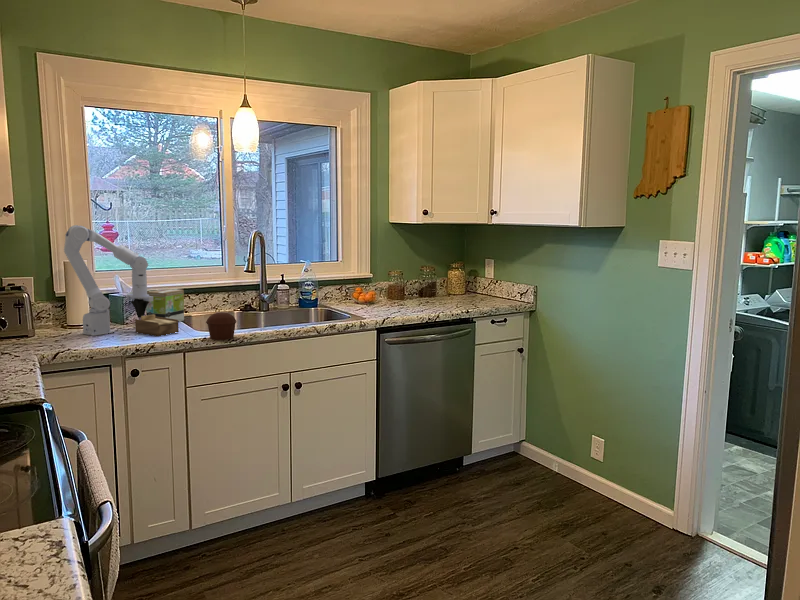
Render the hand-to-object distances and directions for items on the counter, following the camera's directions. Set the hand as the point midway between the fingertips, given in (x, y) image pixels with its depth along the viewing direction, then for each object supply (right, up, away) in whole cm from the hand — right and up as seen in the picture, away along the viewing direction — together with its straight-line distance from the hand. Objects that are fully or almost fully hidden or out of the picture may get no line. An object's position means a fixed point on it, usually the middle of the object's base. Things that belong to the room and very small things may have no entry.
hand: (140, 317), depth 257 cm
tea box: (+3, -3, +20) cm, 21 cm away
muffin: (+38, -8, -14) cm, 41 cm away
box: (+9, -6, -5) cm, 12 cm away
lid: (+9, -2, -6) cm, 11 cm away
